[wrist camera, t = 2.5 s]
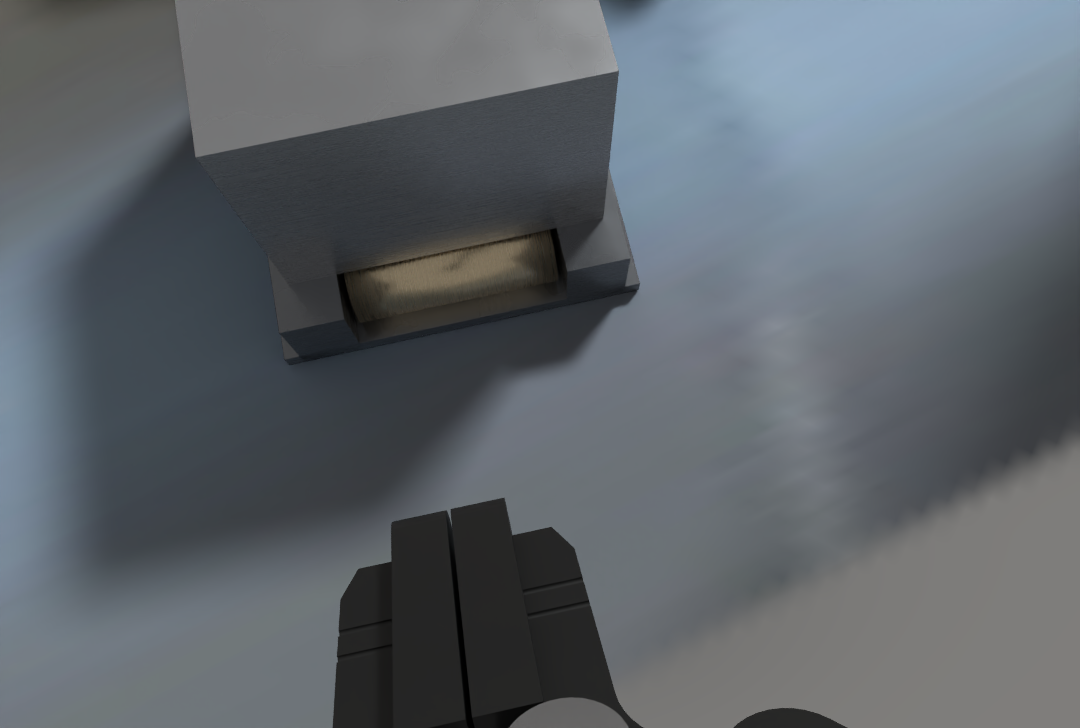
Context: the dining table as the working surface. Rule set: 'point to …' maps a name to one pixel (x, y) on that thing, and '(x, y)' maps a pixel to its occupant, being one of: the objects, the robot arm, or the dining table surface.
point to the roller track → (455, 288)
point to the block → (399, 122)
